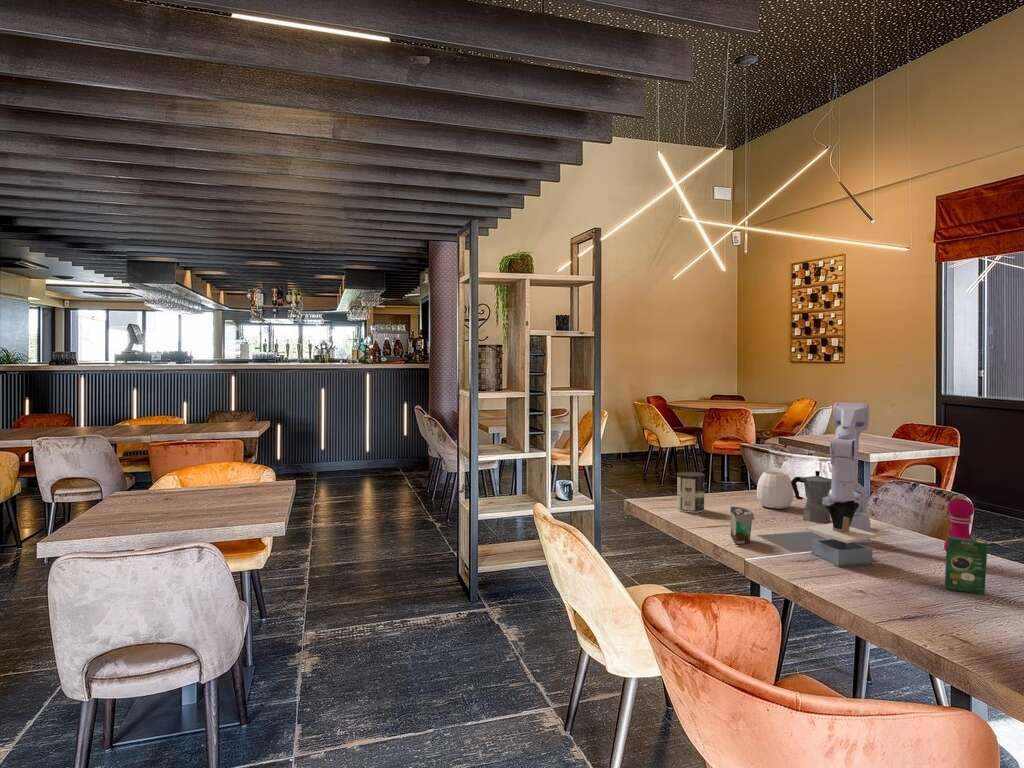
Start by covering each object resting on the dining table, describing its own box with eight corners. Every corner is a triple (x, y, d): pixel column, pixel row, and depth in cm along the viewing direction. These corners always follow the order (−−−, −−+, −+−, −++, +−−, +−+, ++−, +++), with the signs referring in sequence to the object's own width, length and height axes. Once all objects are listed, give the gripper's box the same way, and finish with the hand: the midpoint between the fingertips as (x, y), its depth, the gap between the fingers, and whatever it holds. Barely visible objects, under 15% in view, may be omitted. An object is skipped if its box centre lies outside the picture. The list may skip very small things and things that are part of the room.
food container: (757, 548, 187) (757, 516, 186) (736, 547, 188) (736, 515, 188) (749, 537, 199) (750, 506, 199) (730, 536, 200) (730, 506, 200)
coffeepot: (832, 518, 223) (833, 469, 223) (840, 524, 214) (842, 473, 213) (787, 516, 226) (788, 467, 225) (793, 522, 217) (794, 472, 216)
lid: (834, 525, 185) (835, 509, 185) (876, 537, 174) (877, 520, 173) (805, 530, 179) (806, 514, 179) (847, 543, 168) (847, 526, 167)
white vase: (775, 512, 232) (776, 477, 231) (749, 504, 244) (749, 471, 243) (800, 509, 237) (801, 474, 237) (773, 501, 249) (774, 469, 249)
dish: (843, 552, 183) (843, 537, 183) (872, 564, 172) (872, 548, 172) (811, 554, 181) (811, 539, 181) (838, 567, 170) (838, 551, 170)
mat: (810, 532, 204) (810, 531, 204) (850, 549, 186) (850, 547, 186) (756, 536, 200) (756, 535, 200) (792, 553, 182) (792, 551, 182)
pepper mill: (966, 569, 168) (968, 497, 167) (938, 562, 174) (940, 492, 174) (980, 565, 171) (982, 495, 170) (952, 558, 178) (954, 490, 177)
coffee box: (983, 591, 152) (985, 539, 152) (986, 595, 150) (988, 542, 149) (944, 586, 156) (946, 535, 155) (946, 589, 153) (947, 538, 153)
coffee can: (699, 506, 240) (700, 471, 240) (707, 513, 230) (708, 476, 230) (673, 506, 241) (673, 471, 240) (680, 513, 230) (680, 476, 230)
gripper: (845, 476, 182) (845, 521, 183) (813, 480, 176) (812, 527, 177) (868, 480, 176) (867, 526, 177) (835, 484, 170) (834, 533, 170)
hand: (841, 527), depth 176 cm, fingers closed on lid, 3 cm apart
